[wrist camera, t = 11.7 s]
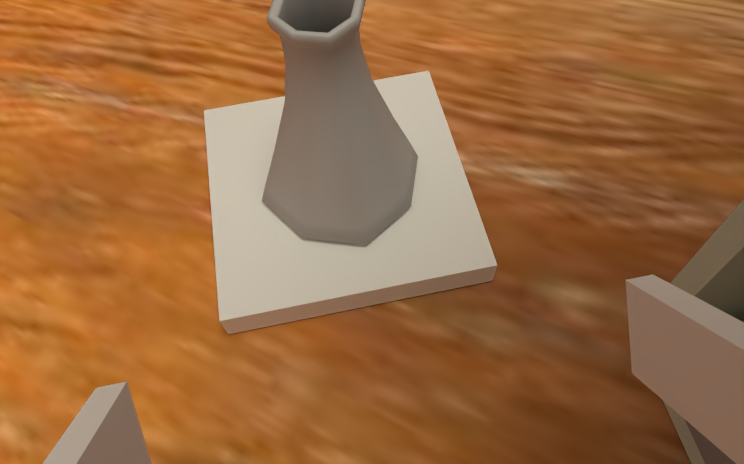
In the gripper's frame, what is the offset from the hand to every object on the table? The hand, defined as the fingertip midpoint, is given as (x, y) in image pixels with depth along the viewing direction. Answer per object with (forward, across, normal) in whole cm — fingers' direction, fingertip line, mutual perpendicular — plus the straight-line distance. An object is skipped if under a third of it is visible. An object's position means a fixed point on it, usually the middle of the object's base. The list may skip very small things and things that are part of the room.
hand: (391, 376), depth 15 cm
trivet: (+15, 0, +2) cm, 15 cm away
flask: (+14, 0, +3) cm, 14 cm away
